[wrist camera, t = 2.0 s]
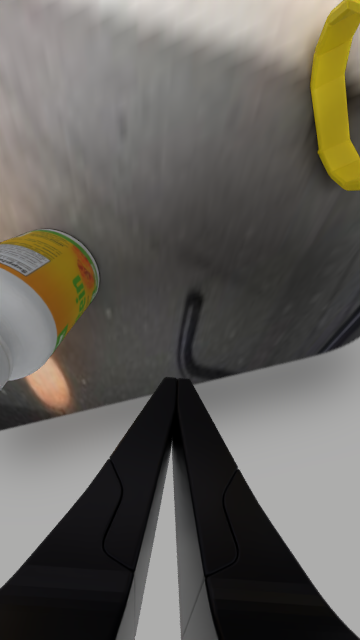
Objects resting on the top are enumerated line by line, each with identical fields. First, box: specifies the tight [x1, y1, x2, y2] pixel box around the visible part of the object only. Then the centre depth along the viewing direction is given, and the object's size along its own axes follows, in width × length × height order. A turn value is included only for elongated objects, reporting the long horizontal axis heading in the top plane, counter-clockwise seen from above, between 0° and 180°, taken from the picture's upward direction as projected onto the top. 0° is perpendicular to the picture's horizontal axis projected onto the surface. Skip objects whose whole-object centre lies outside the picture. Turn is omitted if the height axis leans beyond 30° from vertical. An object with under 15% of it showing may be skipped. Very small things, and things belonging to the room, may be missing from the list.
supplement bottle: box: [0, 229, 99, 390], centre depth 12 cm, size 5×5×10 cm
